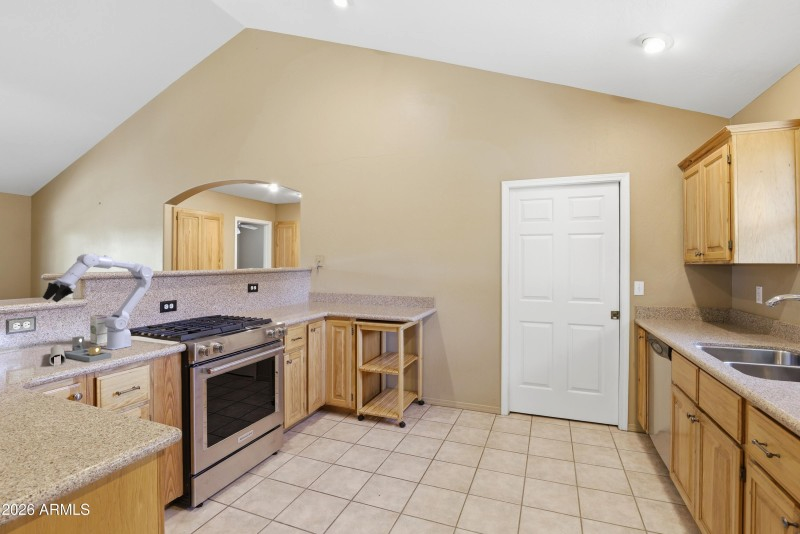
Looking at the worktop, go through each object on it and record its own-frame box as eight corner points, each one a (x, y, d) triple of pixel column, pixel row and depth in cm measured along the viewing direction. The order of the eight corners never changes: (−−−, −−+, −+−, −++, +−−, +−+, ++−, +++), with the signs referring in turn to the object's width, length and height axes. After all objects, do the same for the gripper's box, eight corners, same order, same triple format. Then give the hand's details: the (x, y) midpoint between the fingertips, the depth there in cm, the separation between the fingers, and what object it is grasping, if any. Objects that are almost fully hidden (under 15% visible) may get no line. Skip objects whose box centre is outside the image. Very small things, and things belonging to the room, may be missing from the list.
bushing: (80, 350, 192) (80, 336, 192) (86, 351, 190) (86, 336, 190) (70, 352, 188) (70, 337, 188) (75, 353, 186) (75, 338, 186)
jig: (86, 352, 187) (86, 348, 187) (111, 357, 180) (111, 353, 180) (64, 357, 179) (64, 352, 179) (89, 362, 172) (89, 357, 172)
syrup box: (108, 342, 210) (108, 315, 210) (96, 344, 205) (96, 316, 204) (102, 341, 212) (102, 314, 212) (89, 343, 207) (89, 315, 207)
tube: (47, 346, 182) (46, 357, 164) (61, 341, 186) (62, 351, 167) (52, 357, 184) (52, 368, 165) (66, 351, 187) (68, 362, 168)
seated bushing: (96, 357, 180) (96, 346, 180) (102, 358, 179) (102, 347, 179) (86, 359, 176) (86, 348, 176) (92, 360, 175) (92, 349, 175)
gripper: (56, 268, 182) (32, 292, 174) (74, 271, 176) (50, 297, 169) (69, 277, 187) (47, 301, 180) (87, 281, 181) (65, 305, 174)
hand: (49, 299), depth 174 cm, fingers open, 7 cm apart
